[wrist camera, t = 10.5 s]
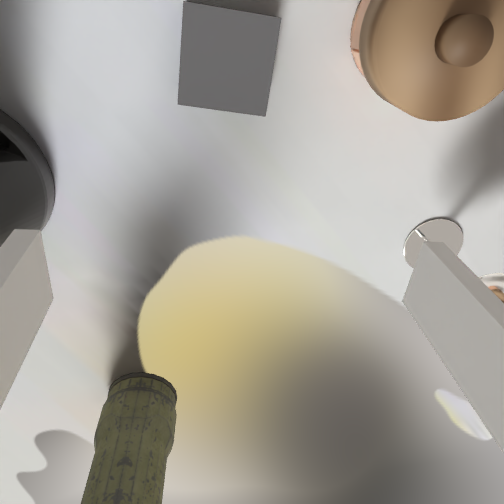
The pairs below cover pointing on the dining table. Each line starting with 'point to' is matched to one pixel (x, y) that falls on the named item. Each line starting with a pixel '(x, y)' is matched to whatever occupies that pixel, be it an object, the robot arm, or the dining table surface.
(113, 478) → the thermos
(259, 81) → the stand
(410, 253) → the wineglass
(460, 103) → the lid
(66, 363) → the dining table surface
